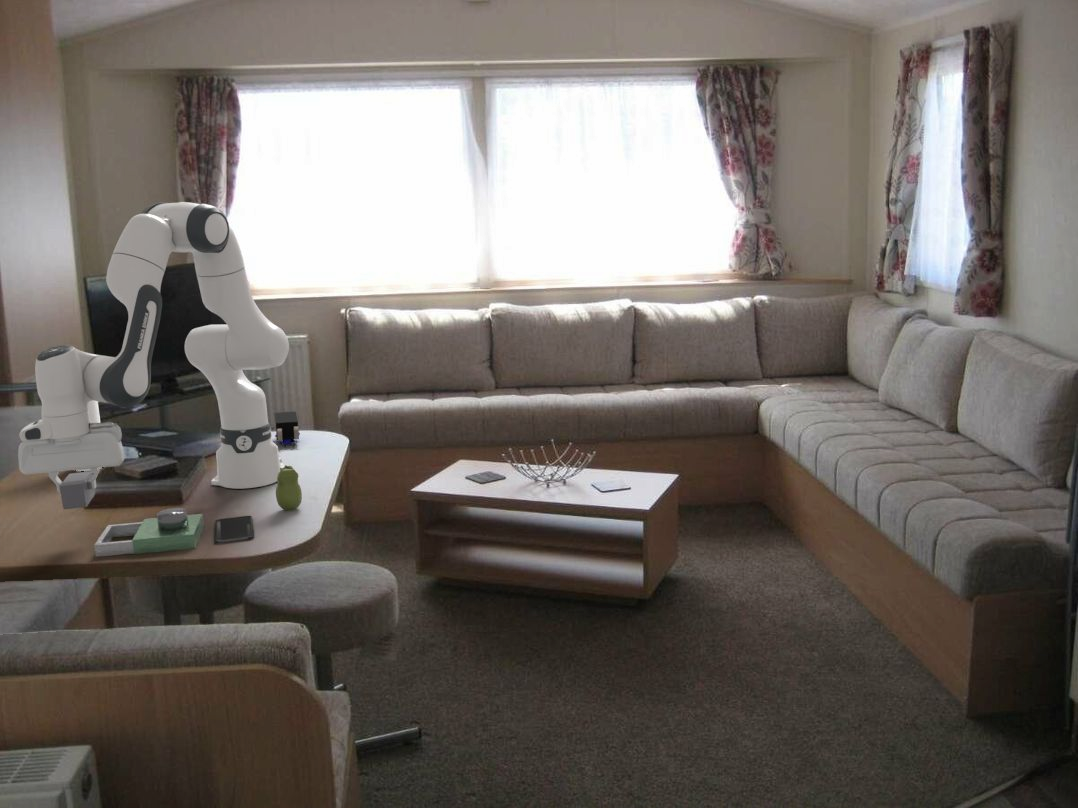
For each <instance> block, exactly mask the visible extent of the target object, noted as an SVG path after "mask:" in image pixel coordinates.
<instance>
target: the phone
mask: <svg viewBox="0 0 1078 808" xmlns="http://www.w3.org/2000/svg"><path fill="white" fill-rule="evenodd" d="M214 526H215V527H214V528H215V529H214V530H215V531H214V542H215V544H217V545H221V544H229V543H237V542H245V541H252V540H254V538H255V530H254V519H253V516H252V515H243V516H234V517H225V518H218V519H216V520H215V525H214Z"/></svg>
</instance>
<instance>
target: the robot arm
mask: <svg viewBox="0 0 1078 808" xmlns="http://www.w3.org/2000/svg"><path fill="white" fill-rule="evenodd" d="M173 252H174V253H191V254H192V256H193V262H194V269H195V274H196V279H197V282H198V286H199V287H198V288H199V291H200V297H201V300H202V303H203V305H204V307H205V309H207V310H208V311H210V312H211V313H213V314H215V315H217V316H218V317H220V318H221V319H222V320H223V321H224V323H226V324H208V325H203V326H199V327H195V328H193V329H191V330H190V331H189V333H188V334H187V336H186V338H185V341H184V353H185V356H186V359H187V361H188V362H189V363H190V364H191V365H192V366H193V367H195V368H196V369H198V370H199V371H200V372H201V374H203V376H204V377H206V379H207V380H208V382H209V383H210V385H211V387H212V389H213V391H214V393H215V396H216V399H217V403H218V404H217V405H218V411H219V416H220V417H219V418H220V425H221V426H220V428H219V437H220V442H221V446H220V447H218V449H217V450H216V451H215V455H216V458H215V459H216V469H217V470H216V472H217V473H216V474H217V475H216V476H214V477H213V478H212V479H211V481H210V484H211V486H218V487H219V486H220V487H223V488H226V489H227V488H228V489H237V490H238V489H240V490H241V489H251V488H252V489H253V488H258V487H259V488H260V487H265V486H268V485H272V484H274V483H276V482H277V476H278V474H279V472H280V468H284V466H285V464H284V462H283V461H282V458H281V457H280V454H279V453H280V452H279V447H278V445H277V444H276V443H275V442H274V441H273V439H272V428H271V427H272V426H271V424H270V422H269V419H268V410H267V399H266V395H265V392H264V390H263V389H262V388H261V387H260V386H258V385H257V384H255V383H253V382H251V380H250V379H248V378H247V377H246V375H245V373H244V370H245V371H247V370H248V371H250V370H251V371H252V370H253V371H257V370H258V371H259V370H261V371H262V370H268V369H272V368H276V367H280V366H282V365H283V363H284V362H285V360H287V357H288V354H289V350H290V344H289V339H288V337H287V335H286V333H285V332H284V330H283V329H282V328H281V327H279V326H277V325H276V324H274V323H273V322H272V321H271V320H269V319H268V318H267V317H266V315H264V314H263V312H262V311H261V310H260V308H259V307H258V305H257V304H256V302H255V300H254V298H253V295H252V292H251V291H252V290H251V288H250V284H249V281H248V277H247V272H246V267H245V263H244V257H243V255H242V251H241V248H240V245H239V243H238V239H237V237H236V235H235V231H234V230H233V229H232V228H231V226H230V225H229V221H228V218H227V217H226V214H225V213H224V212H223V211H222V210H221V209H220V208H218V207H217V206H214V205H210V204H208V203H201V204H200V203H195V202H188V201H187V202H186V201H180V202H169V203H167V202H157V203H153V204H150V205H148V206H146V207H144V209H143V210H142V211H141V212H140V213H139V214H136V215H134V216H132V217H131V218H130V219H129V221H128V223H127V224H126V225H125V227H124V228H123V231H122V232H121V234H120V236H119V239H118V241H117V243H116V245H115V247H114V250H113V252H112V254H111V258H110V260H109V263H108V266H107V270H106V277H105V279H106V280H105V281H106V285H107V288H108V289H109V291H110V292H111V294H112V295H113V296H114V298H115V299H117V300H118V301H119V302H120V303H122V305H124V306H125V307H126V310H127V314H128V320H127V324H126V330H125V333H124V338H123V341H122V342H123V343H122V347H121V350H120V351H119V353H118V354H117V356H109V355H108V356H107V355H103V354H102V355H101V354H94V353H90V352H85V351H82V350H80V349H78V348H76V347H75V346H73V345H71V344H61V345H55V346H51V347H49V348H46V349H44V350H42V351H41V352H40V353H39V354H37V356H36V359H35V363H34V364H35V365H34V367H35V368H34V369H35V370H34V371H35V383H36V390H37V395H38V397H39V399H40V401H41V402H40V403H41V411H40V412H41V419H39V420H36V421H34V422H31V423H29V424H27V425H26V426H25V427H22V429H21V431H20V432H19V438H20V441H21V443H20V444H19V446H18V452H17V457H18V459H17V460H18V467H19V471H20V472H21V473H22V474H23V475H33V474H34V475H35V474H36V475H37V474H45V473H46V474H47V473H48V476H49V479H50V480H51V481H52V482H53V483H54V485H56V491H57V493H61V492H60V487H59V486H60V485H61V484H62V482H63V481H62V480H61V479H60V478H59V476H58V475H59V472H66V471H67V472H68V471H69V472H70V471H75V470H80V469H90V472H91V473H92V479H88V481H87V485H88V486H87V488H88V489H95V490H96V488H97V480H96V479H97V477H98V476H99V473H100V470H101V469H103V468H102V467H104V468H111V467H112V468H113V467H119V466H120V465H121V464H123V462H124V461H125V459H126V456H125V452H124V446H123V444H122V438H123V434H122V429H121V427H120V426H119V425H118V424H117V423H113V421H106V422H100V423H90V420H89V413H88V407H87V403H88V402H89V401H92V400H94V401H98V403H105V404H110V405H113V406H117V407H120V408H123V409H126V408H127V409H128V408H132V407H135V406H137V405H138V404H140V403H141V402H142V401H143V400H145V398H146V396H147V395H148V393H149V391H150V388H151V382H152V381H151V380H152V359H153V354H154V349H155V345H156V340H157V335H158V330H159V326H160V321H161V315H162V310H163V297H162V295H161V286H162V282H163V277H164V275H165V272H166V268H167V266H168V265H167V264H168V261H169V259H170V255H171V254H172V253H173ZM100 468H101V469H100Z"/></svg>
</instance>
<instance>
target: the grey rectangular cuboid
mask: <svg viewBox="0 0 1078 808" xmlns="http://www.w3.org/2000/svg"><path fill="white" fill-rule="evenodd" d="M92 476H93V473H91V472H90V471H84V472H81V471H79V472H73V473H69V474H68V475H67V476H66V477H65V478H64V480H63V481H62V484H61V485H60V486H59V487H60V492H59V493H60V497H61V498H60V499H61V503H62V508H63V510H70V509H71V510H72V509H80V508H87V507H88V505H89V504H90V502H91V501H92V500H93V498H94V497H95V495H96V488H95V489H88V488H87V486H88V485H87V481H88V479H92Z"/></svg>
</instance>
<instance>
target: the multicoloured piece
mask: <svg viewBox="0 0 1078 808" xmlns="http://www.w3.org/2000/svg"><path fill="white" fill-rule="evenodd" d="M204 528H205V526H204V515H203V513H197V514H196V513H195V514H188V510H187V509H186V508H184V507H171V508H166V509H162V510H160V511H158V512H157V513H156V517H150V518H144V519H143V521H137V522H129V523H127V522H126V523H118V524H108V525H107V526H106V527H105V529H104V530H103V532H101V534H100V536H99V537H98V539H97V540H96V542H95V543H94V546H93V547H94V553H95V557H96V558H98V557H109V556H119V555H129V554H131V555H132V554H134V555H138V554H139V555H140V554H147V553H148V554H149V553H159V552H170V551H181V550H190V549H196V548H197V544H198V542H199V540H200V537H201V535H202V533H203V531H204ZM119 537H121V538H122V537H133V538H132V540H131V539H130V540H129V539H127V540H119V541H112V540H113V539H114V538H119Z"/></svg>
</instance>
